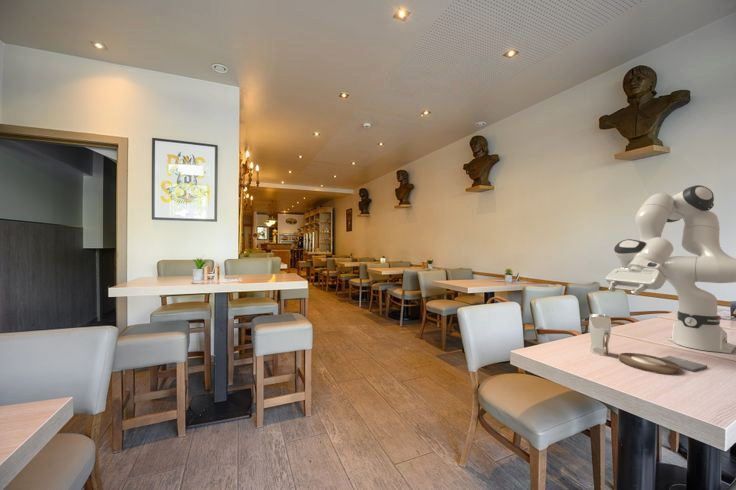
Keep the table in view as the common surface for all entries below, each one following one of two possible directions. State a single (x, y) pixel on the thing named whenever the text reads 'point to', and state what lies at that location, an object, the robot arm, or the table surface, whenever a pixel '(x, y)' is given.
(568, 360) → the table surface
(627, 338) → the table surface
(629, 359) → the round walnut board
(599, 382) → the table surface
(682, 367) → the square charcoal tile
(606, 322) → the beer glass
